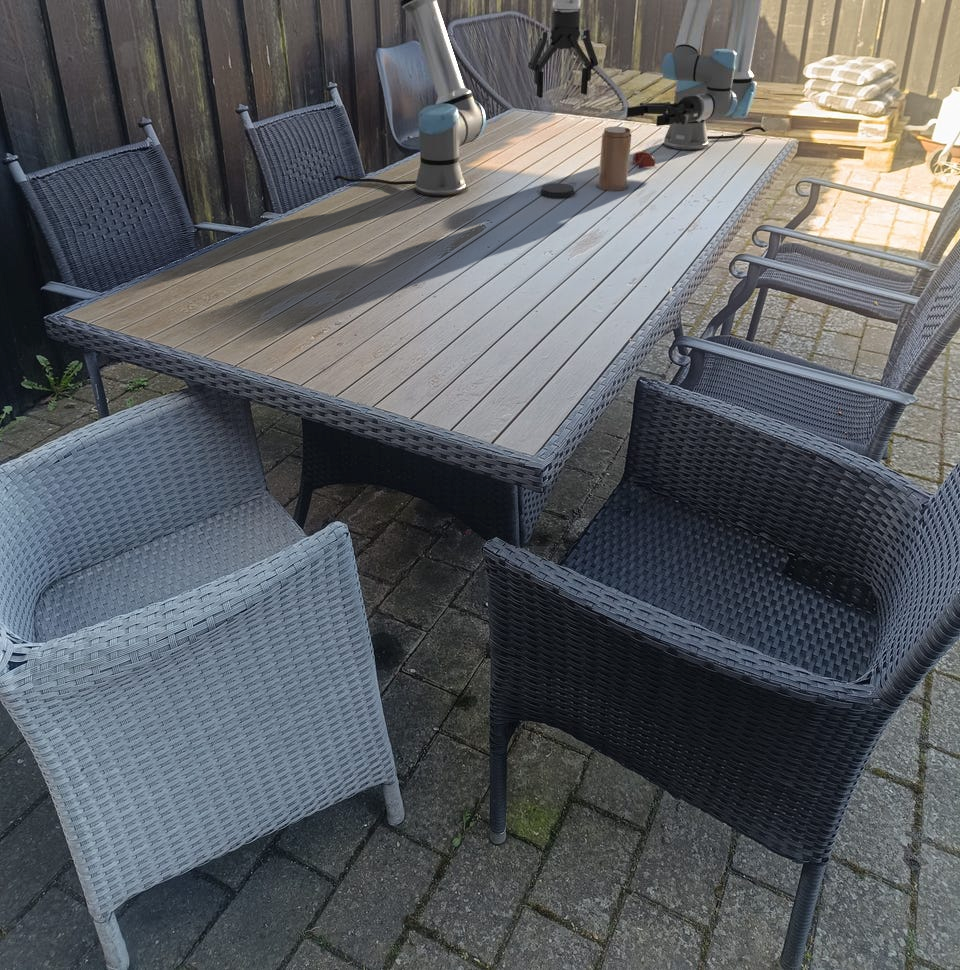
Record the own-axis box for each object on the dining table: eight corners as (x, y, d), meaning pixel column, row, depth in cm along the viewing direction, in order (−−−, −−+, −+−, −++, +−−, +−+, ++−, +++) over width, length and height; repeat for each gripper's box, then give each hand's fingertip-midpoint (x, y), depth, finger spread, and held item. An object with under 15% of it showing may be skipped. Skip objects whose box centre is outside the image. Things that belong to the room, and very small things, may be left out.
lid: (578, 191, 257) (579, 186, 256) (565, 200, 250) (565, 194, 249) (550, 186, 261) (550, 181, 260) (535, 195, 254) (536, 189, 253)
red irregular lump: (647, 147, 282) (657, 154, 276) (646, 160, 284) (656, 167, 278) (631, 149, 281) (641, 155, 275) (630, 162, 283) (640, 169, 277)
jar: (600, 190, 258) (605, 133, 248) (595, 182, 265) (600, 126, 255) (628, 190, 258) (634, 132, 248) (623, 182, 265) (628, 125, 255)
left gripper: (527, 13, 221) (525, 100, 234) (614, 10, 227) (607, 95, 240) (518, 10, 227) (516, 95, 239) (602, 6, 233) (596, 89, 246)
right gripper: (721, 129, 257) (669, 138, 248) (665, 113, 274) (614, 121, 265) (725, 102, 252) (672, 111, 243) (668, 88, 270) (617, 95, 260)
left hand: (561, 95), depth 240 cm, fingers open, 13 cm apart
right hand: (642, 116), depth 254 cm, fingers open, 13 cm apart
